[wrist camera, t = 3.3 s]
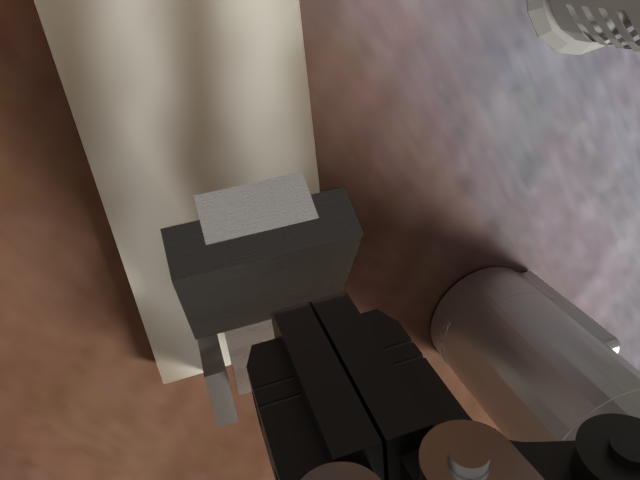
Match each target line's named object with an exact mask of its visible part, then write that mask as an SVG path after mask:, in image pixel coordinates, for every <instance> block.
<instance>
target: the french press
mask: <svg viewBox="0 0 640 480" xmlns="http://www.w3.org/2000/svg"><path fill="white" fill-rule="evenodd" d="M527 4H528V14H529V16H530V18H531V21H532V23H533V26H534V28H535V31H536V33H537V35H538V37H539V38H540V39H541V40H542V41H543V42H545V43H546V44H547V45H548V46H549V47H551V48H552V49H553V50H554V51H556V52H559V53H566V54H574V55H581V54H584V53H586V52H589V51H592V50H595V49H598V48H601V47H603V46H604V45H607V46H615V47H616V48H624V49H633V51H638V52H640V47H639V46H640V39H639V40H637V41H635V42H634V40H633V38H634V37H635V36H637V35H639V36H640V0H527ZM632 25H633V27H634V29H635V30H633V31H632V32H630V33H629V32H628V31H627V29H628V28H629V27H631V26H632ZM619 34H621V36H622V38H620V39H618V40H617V39H616V38H615V36H617V35H619ZM609 41H610V42H611V43H609V44H607V43H608V42H609ZM624 42H626V43H627V44H628V45H626V46H622V45H621V44H622V43H624Z"/></svg>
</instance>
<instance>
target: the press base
mask: <svg viewBox="0 0 640 480" xmlns="http://www.w3.org/2000/svg"><path fill="white" fill-rule="evenodd" d="M34 3H35V6H36V9H37V11H38V14H39V17H40V20H41V23H42V26H43V29H44V32H45V35H46V38H47V41H48V44H49V47H50V50H51V53H52V56H53V59H54V62H55V65H56V68H57V71H58V73H59V76H60V79H61V82H62V85H63V88H64V91H65V94H66V97H67V100H68V103H69V106H70V109H71V112H72V115H73V118H74V121H75V124H76V127H77V130H78V133H79V135H80V138H81V141H82V144H83V147H84V150H85V153H86V156H87V159H88V162H89V165H90V168H91V171H92V174H93V177H94V180H95V183H96V186H97V189H98V192H99V195H100V197H101V200H102V203H103V206H104V209H105V212H106V215H107V218H108V221H109V224H110V227H111V230H112V233H113V236H114V239H115V242H116V245H117V248H118V251H119V254H120V257H121V260H122V262H123V265H124V268H125V271H126V274H127V277H128V280H129V283H130V286H131V289H132V292H133V295H134V298H135V301H136V304H137V307H138V310H139V313H140V316H141V319H142V322H143V324H144V327H145V330H146V333H147V336H148V339H149V342H150V345H151V348H152V351H153V354H154V357H155V360H156V363H157V366H158V369H159V372H160V375H161V378H162V381H163V384H166V383H170V382H173V381H176V380H180V379H183V378H187V377H190V376H193V375H197V374H200V373H204V378H205V382H206V385H207V389H208V392H209V396H210V399H211V403H212V406H213V410H214V413H215V417H216V420H217V424H218V427H220V426H223V425H227V424H230V423H233V422H236V421H238V417H237V413H236V409H235V404H234V400H233V396H232V392H231V388H230V384H229V380H228V375H227V371H226V367H225V366H228V365H231V359H230V355H229V351H228V346H227V342H226V337H225V333H224V332H223V333H219V334H216V335H212V336H208V337H205V338H201V339H198V340H195V337H194V335H193V333H192V330H191V328H190V325H189V323H188V320H187V318H186V315H185V313H184V311H183V308H182V306H181V303H180V301H179V298H178V296H177V293H176V291H175V289H174V286H173V284H172V281H171V276H170V272H169V267H168V262H167V258H166V253H165V249H164V244H163V239H162V235H161V230H160V229H162V228H166V227H170V226H175V225H179V224H184V223H188V222H192V221H197V220H199V218H198V214H197V209H196V205H195V201H194V195H199V194H203V193H208V192H213V191H217V190H222V189H226V188H231V187H236V186H240V185H245V184H249V183H254V182H259V181H263V180H268V179H272V178H277V177H282V176H286V175H291V174H295V173H300V172H302V173H303V175H304V178H305V181H306V184H307V186H308V189H309V192H310V195H311V194H315V193H319V192H320V187H319V178H318V169H317V160H316V151H315V142H314V133H313V124H312V115H311V105H310V96H309V87H308V78H307V69H306V60H305V51H304V42H303V33H302V24H301V14H300V5H299V0H34Z"/></svg>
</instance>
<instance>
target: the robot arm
mask: <svg viewBox="0 0 640 480" xmlns="http://www.w3.org/2000/svg"><path fill="white" fill-rule="evenodd" d="M271 320H272V326H273V331H274V337H275V339H272V340H268V341H265V342H261V343H258V344H254V345H252V346H251V350H250V354H249V358H248V362H247V366H246V368H247V372H248V377H249V381H250V385H251V390H252V394H253V398H254V403H255V407H256V412H257V416H258V420H259V425H260V428H261V432H262V435H263V439H264V442H265V446H266V449H267V452H268V456H269V459H270V463H271V466H272V470H273V473H274V477H275V480H640V371H639V370H638V369H636V368H635V367H634V366H633V365H631V364H630V363H629V362H628V361H626V360H625V359H624V358H623V357H622V356H620V355H619V351H620V342H619V340H618V339H617V338H616V337H615V336H613V335H612V334H611V333H610V332H608V331H607V330H606V329H604V328H603V327H602V326H601V325H599V324H598V323H597V322H595V321H594V320H593V319H592V318H590V317H589V316H588V315H586V314H585V313H584V312H583V311H581V310H580V309H579V308H577V307H576V306H575V305H574V304H572V303H571V302H570V301H568V300H567V299H566V298H565V297H563V296H562V295H561V294H559V293H558V292H557V291H556V290H554V289H553V288H552V287H550V286H549V285H548V284H547V283H545V282H544V281H543V280H541V279H540V278H539V277H538V276H536V275H535V274H534V273H532V272H531V271H527V272H524V273H519V272H516V271H514V270H512V269H510V268H505V267H489V268H485V269H482V270H478V271H476V272H474V273H472V274H470V275H468V276H466V277H465V278H463V279H462V280H460V281H459V282H457V283H456V284H455V285H454V286H453V287H452V288H451V289H450V290H449V291H448V292H447V293H446V294H445V296H444V297H443V298H442V299H441V301H440V303H439V304H438V306H437V308H436V310H435V312H434V315H433V318H432V321H431V329H430V332H431V339H432V342H433V344H434V347H435V348H436V349H437V350H438V352H439V353H440V354H441V356H442V357H443V358H444V360H445V362H446V363H447V364H448V365H449V366H450V367H451V368H452V370H453V371H454V372H455V373H456V375H457V376H458V377H459V379H460V380H461V381H462V383H463V384H464V385H465V386H466V388H467V389H468V390H469V392H470V393H471V394H472V395H473V397H474V398H475V399H476V400H477V402H478V403H479V404H480V405H481V407H482V408H483V409H484V411H485V412H486V413H487V414H488V416H489V417H490V418H491V419H492V421H493V422H494V423H495V424H496V426H497V427H498V428H499V430H500V431H501V432H502V433H503V434H502V433H500V432H499V431H497V430H496V429H494V428H492V427H490V426H489V425H486V424H483V423H481V422H477V421H473V420H472V419H471V418H470V417H469V416H468V414H467V413H466V412H465V410H464V409H463V408H462V406H461V405H460V404H459V402H458V401H457V400H456V398H455V397H454V396H453V394H452V393H451V392H450V390H449V389H448V388H447V386H446V385H445V384H444V382H443V381H442V380H441V378H440V377H439V376H438V374H437V373H436V372H435V370H434V369H433V368H432V366H431V365H430V364H429V362H428V361H427V360H426V358H423V355H422V353H421V352H420V350H419V349H418V348H417V346H416V345H415V344H414V343H412V341H411V338H410V337H409V336H408V334H407V333H406V331H405V330H404V329H403V327H402V326H401V325H400V323H399V322H398V321H396V320H395V319H393V318H391V317H390V316H388V315H386V314H385V313H383V312H381V311H379V310H378V309H375V310H372V311H368V312H365V313H361V314H360V312H359V311H358V309H357V308H356V306H355V305H354V303H353V302H352V300H351V299H350V297H349V296H348V294H347V293H346V292H341V293H337V294H333V295H330V296H326V297H323V298H319V299H315V300H312V301H309V303H307V302H305V303H301V304H298V305H294V306H291V307H287V308H283V309H280V310H276V311H272V312H271Z"/></svg>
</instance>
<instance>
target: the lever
mask: <svg viewBox="0 0 640 480" xmlns="http://www.w3.org/2000/svg"><path fill="white" fill-rule="evenodd" d="M194 201H195V205H196V209H197V214H198V218H199V220H197V221H192V222H188V223H184V224H179V225H175V226H170V227H166V228H162V229H160V230H161V235H162V239H163V244H164V249H165V253H166V258H167V262H168V267H169V272H170V276H171V281H172V284H173V286H174V289H175V291H176V293H177V296H178V298H179V301H180V303H181V306H182V308H183V311H184V313H185V315H186V318H187V320H188V323H189V325H190V328H191V330H192V333H193V335H194V337H195V340H198V339H201V338H205V337H208V336H212V335H216V334H219V333H223V332H224V333H225V337H226V342H227V346H228V351H229V355H230V359H231V364H232V368H233V373H234V377H235V381H236V385H237V389H238V393H239V395H242V394H245V393H248V392H252V390H251V385H250V381H249V377H248V372H247V368H246V366H247V362H248V358H249V354H250V350H251V346H252V345H254V344H258V343H261V342H265V341H268V340H272V339H275V337H274V331H273V326H272V320H271V312H272V311H276V310H280V309H283V308H287V307H291V306H294V305H298V304H301V303H305V302H307V303H309V301H312V300H315V299H319V298H323V297H326V296H330V295H333V294H337V293H341V292H343V290H344V287H345V284H346V281H347V279H348V276H349V273H350V270H351V268H352V265H353V262H354V259H355V257H356V254H357V251H358V248H359V246H360V243H361V240H362V237H363V235H364V233H363V230H362V227H361V225H360V222H359V220H358V217H357V215H356V212H355V210H354V207H353V205H352V202H351V200H350V197H349V195H348V192H347V190H346V187H341V188H337V189H333V190H328V191H324V192H319V193H315V194H311V195H310V192H309V189H308V186H307V184H306V181H305V178H304V175H303V173H302V172H300V173H295V174H291V175H286V176H282V177H277V178H272V179H268V180H263V181H259V182H254V183H249V184H245V185H240V186H236V187H231V188H226V189H222V190H217V191H213V192H208V193H203V194H199V195H194Z"/></svg>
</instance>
